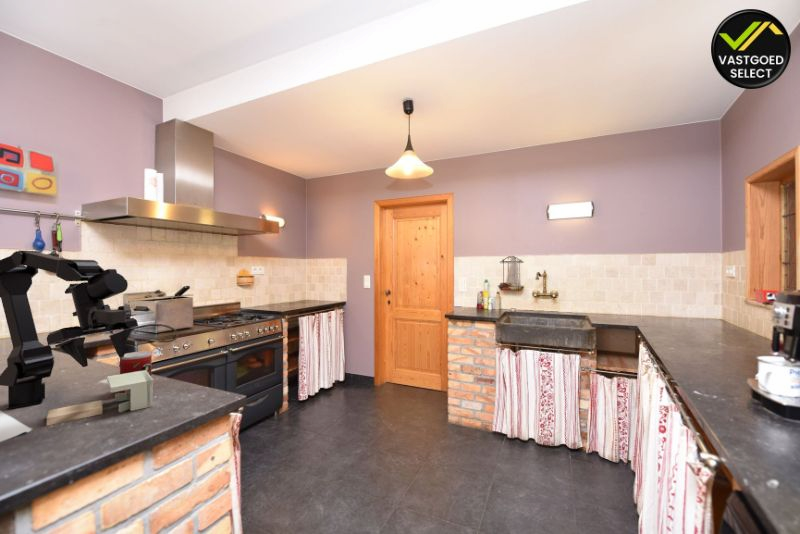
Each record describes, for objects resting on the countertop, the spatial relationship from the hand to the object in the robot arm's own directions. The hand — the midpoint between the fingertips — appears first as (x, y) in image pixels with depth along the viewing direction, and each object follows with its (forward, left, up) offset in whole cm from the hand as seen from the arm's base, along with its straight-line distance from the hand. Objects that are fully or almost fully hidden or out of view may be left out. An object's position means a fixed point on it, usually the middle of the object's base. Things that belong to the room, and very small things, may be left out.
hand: (104, 361), depth 90 cm
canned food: (+8, +14, -13) cm, 21 cm away
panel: (-5, +1, -13) cm, 14 cm away
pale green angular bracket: (+6, +1, -13) cm, 14 cm away
